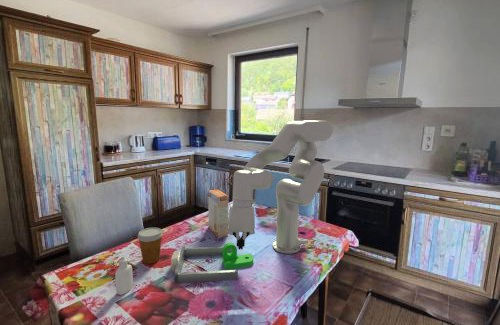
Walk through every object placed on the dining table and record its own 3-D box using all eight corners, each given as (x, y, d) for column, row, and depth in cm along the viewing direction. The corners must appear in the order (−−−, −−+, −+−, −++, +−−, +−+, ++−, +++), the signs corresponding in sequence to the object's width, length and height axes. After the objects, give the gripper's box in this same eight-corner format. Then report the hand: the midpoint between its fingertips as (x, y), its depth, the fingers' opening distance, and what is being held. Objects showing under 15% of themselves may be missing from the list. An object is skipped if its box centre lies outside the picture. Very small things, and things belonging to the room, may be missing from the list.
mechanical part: (225, 270, 100) (225, 250, 99) (222, 262, 106) (222, 243, 105) (255, 265, 104) (255, 246, 103) (250, 258, 110) (250, 239, 109)
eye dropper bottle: (113, 290, 87) (111, 256, 85) (131, 283, 91) (129, 251, 89) (118, 296, 84) (115, 262, 82) (136, 289, 88) (134, 256, 86)
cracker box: (228, 236, 130) (229, 195, 127) (217, 238, 127) (217, 196, 124) (218, 226, 142) (218, 188, 139) (208, 228, 139) (207, 189, 136)
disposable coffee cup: (157, 251, 113) (156, 225, 112) (167, 260, 107) (166, 232, 105) (134, 259, 107) (133, 231, 105) (144, 268, 100) (143, 239, 98)
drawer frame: (234, 252, 114) (234, 241, 113) (237, 279, 94) (237, 266, 94) (176, 255, 111) (176, 243, 110) (167, 283, 91) (167, 269, 91)
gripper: (260, 200, 105) (257, 243, 107) (222, 199, 103) (221, 244, 105) (263, 205, 97) (260, 252, 100) (222, 205, 96) (221, 252, 98)
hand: (240, 248), depth 103 cm, fingers closed
